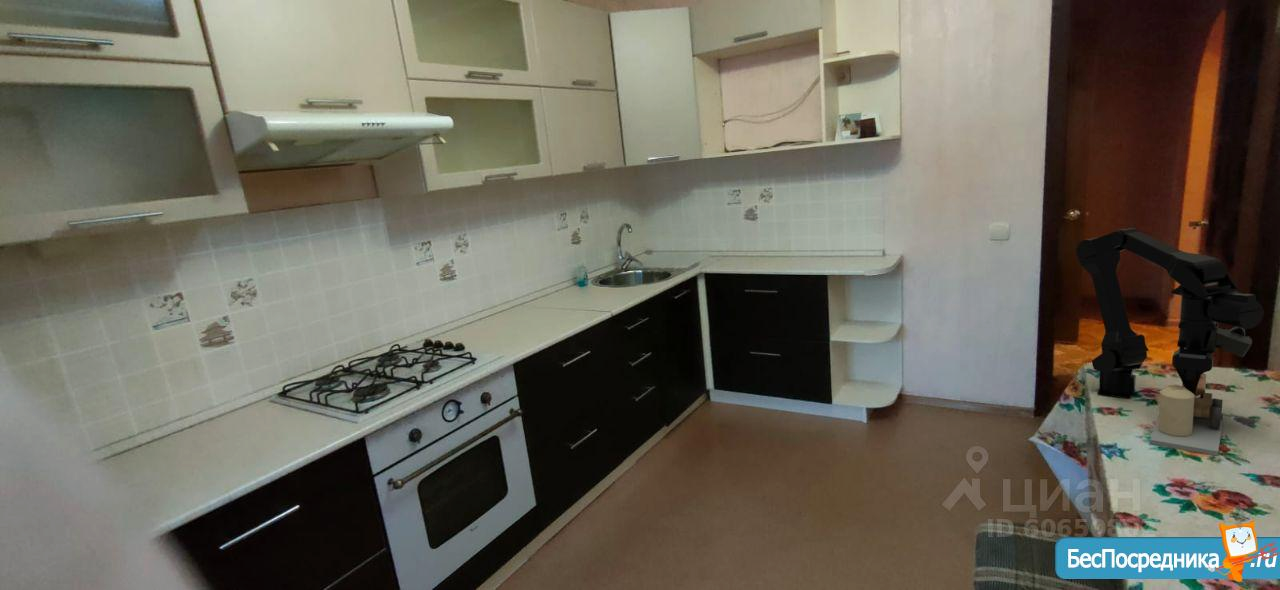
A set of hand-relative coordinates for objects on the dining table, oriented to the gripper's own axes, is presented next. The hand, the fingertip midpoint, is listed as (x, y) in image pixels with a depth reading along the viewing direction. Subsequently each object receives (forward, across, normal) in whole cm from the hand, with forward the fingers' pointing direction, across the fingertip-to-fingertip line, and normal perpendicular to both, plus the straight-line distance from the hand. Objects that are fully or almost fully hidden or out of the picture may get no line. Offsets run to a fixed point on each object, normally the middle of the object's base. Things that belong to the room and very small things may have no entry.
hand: (1193, 386), depth 136 cm
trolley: (+8, -1, 0) cm, 8 cm away
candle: (+7, -9, +2) cm, 12 cm away
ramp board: (+8, -7, 0) cm, 11 cm away
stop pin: (+6, 0, 0) cm, 6 cm away
